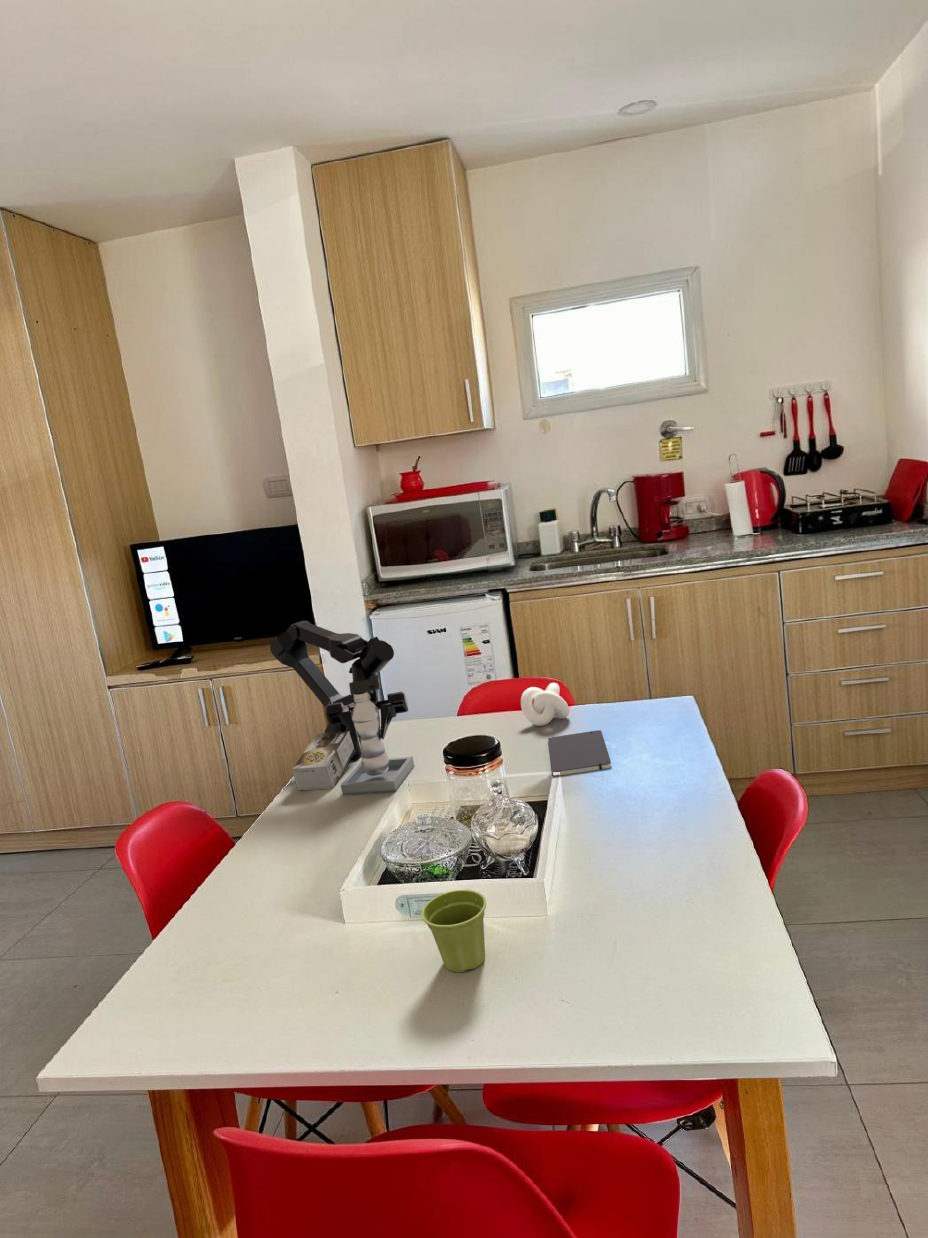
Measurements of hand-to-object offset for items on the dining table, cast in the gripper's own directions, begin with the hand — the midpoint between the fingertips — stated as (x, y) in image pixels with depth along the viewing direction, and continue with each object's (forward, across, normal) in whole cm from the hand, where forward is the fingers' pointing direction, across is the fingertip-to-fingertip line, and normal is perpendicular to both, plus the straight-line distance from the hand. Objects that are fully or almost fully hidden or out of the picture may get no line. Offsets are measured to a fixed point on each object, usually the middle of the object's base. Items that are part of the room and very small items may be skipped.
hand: (369, 741), depth 197 cm
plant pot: (+60, +19, -46) cm, 78 cm away
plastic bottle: (+5, 0, +7) cm, 9 cm away
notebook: (+10, +46, +5) cm, 48 cm away
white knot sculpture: (-8, +43, +23) cm, 49 cm away
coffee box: (+4, -15, +6) cm, 17 cm away
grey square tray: (+6, 0, +8) cm, 10 cm away
